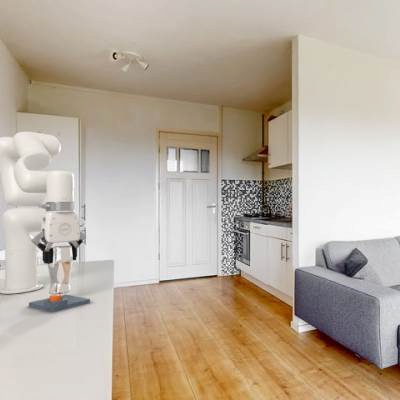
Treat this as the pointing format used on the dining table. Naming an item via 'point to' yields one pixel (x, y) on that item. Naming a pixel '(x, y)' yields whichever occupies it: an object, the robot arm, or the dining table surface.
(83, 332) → the dining table surface
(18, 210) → the robot arm
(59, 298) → the button
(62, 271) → the beer glass
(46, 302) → the scale
